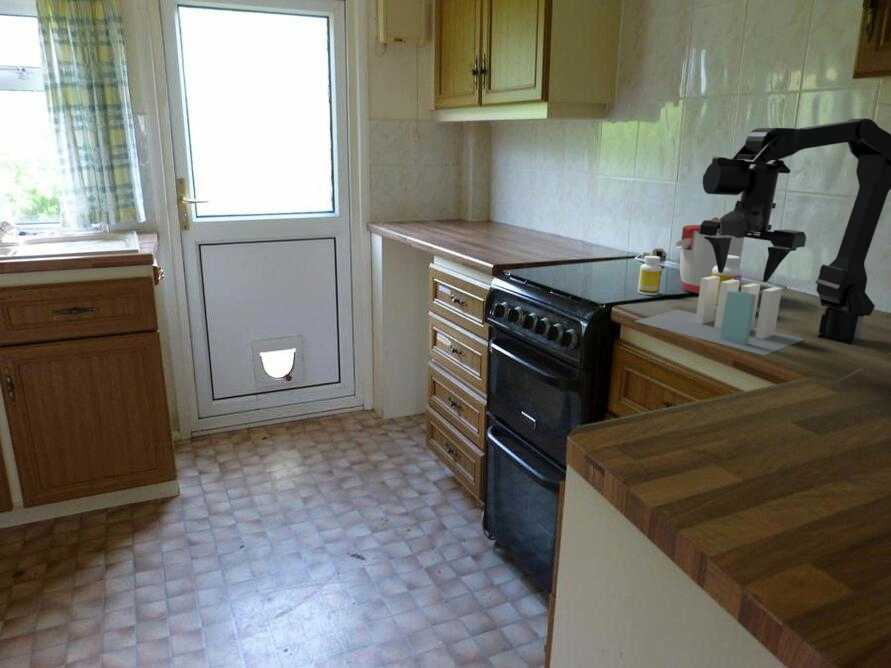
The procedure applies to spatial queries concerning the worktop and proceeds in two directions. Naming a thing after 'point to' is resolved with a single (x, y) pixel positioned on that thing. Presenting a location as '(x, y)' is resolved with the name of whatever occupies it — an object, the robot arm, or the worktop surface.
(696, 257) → the citrus juicer
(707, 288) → the domino
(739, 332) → the teal domino
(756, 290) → the domino
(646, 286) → the supplement bottle
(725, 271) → the supplement bottle
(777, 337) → the slate mat
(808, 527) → the worktop surface
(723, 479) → the worktop surface
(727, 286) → the domino
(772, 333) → the domino
